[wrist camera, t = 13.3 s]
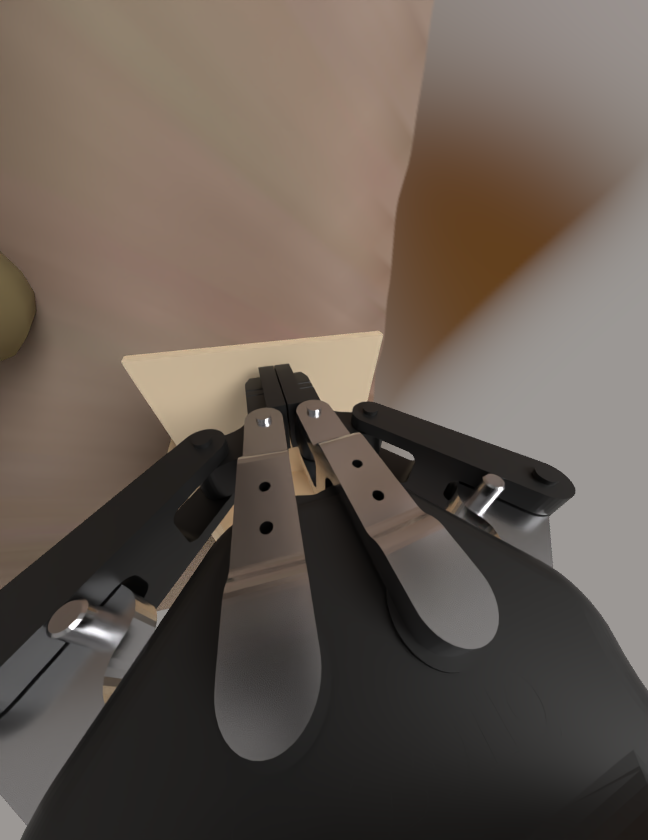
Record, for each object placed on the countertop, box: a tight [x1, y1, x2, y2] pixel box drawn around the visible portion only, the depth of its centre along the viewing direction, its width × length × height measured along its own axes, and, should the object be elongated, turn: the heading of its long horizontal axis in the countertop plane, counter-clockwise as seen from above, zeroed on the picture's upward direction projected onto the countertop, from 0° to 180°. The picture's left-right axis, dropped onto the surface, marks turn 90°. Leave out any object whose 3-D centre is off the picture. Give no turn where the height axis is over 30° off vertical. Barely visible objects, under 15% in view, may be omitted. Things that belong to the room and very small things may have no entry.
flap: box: [121, 331, 383, 446], centre depth 13 cm, size 1×12×6 cm
